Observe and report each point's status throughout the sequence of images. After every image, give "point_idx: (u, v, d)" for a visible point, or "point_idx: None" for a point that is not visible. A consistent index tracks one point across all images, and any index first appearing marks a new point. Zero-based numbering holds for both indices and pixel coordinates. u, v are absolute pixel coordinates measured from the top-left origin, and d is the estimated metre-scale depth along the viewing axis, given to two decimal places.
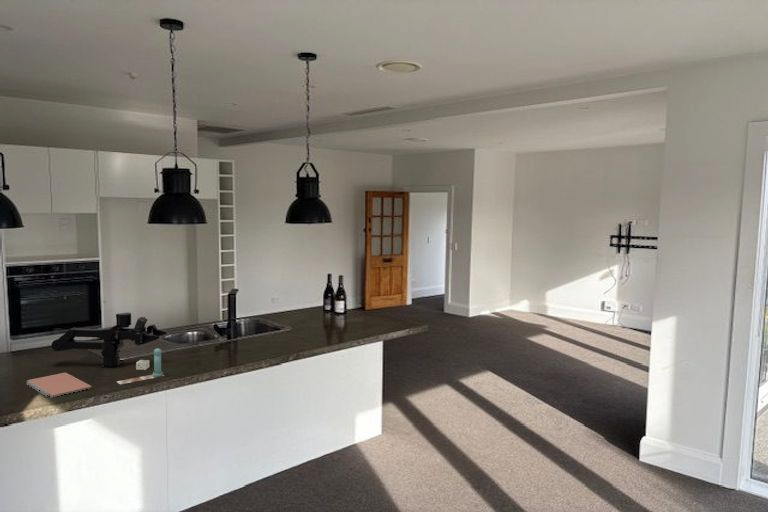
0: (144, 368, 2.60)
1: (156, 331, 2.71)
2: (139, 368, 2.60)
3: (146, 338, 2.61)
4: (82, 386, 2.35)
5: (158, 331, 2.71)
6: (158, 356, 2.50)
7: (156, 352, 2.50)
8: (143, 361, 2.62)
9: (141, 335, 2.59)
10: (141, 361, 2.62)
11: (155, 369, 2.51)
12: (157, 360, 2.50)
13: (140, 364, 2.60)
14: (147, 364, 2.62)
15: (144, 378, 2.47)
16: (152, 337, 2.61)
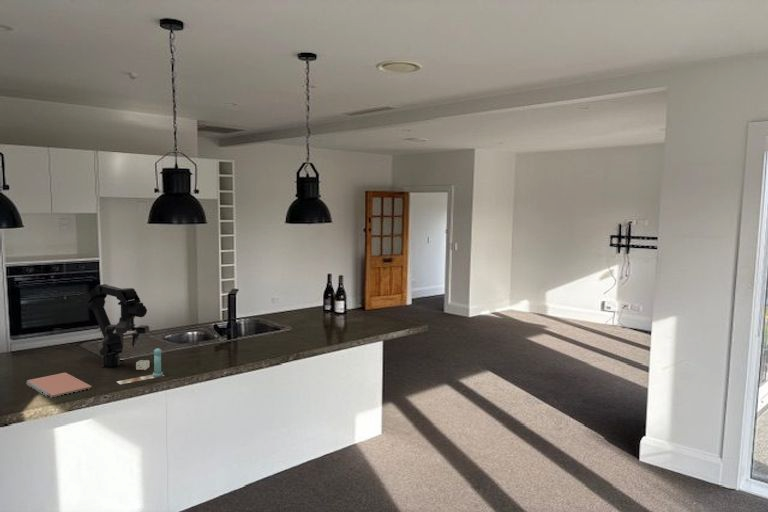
0: (144, 368, 2.60)
1: None
2: (139, 368, 2.60)
3: None
4: (82, 386, 2.35)
5: None
6: (158, 356, 2.50)
7: (156, 352, 2.50)
8: (143, 361, 2.62)
9: None
10: (141, 361, 2.62)
11: (155, 369, 2.51)
12: (157, 360, 2.50)
13: (140, 364, 2.60)
14: (147, 364, 2.62)
15: (144, 378, 2.47)
16: None
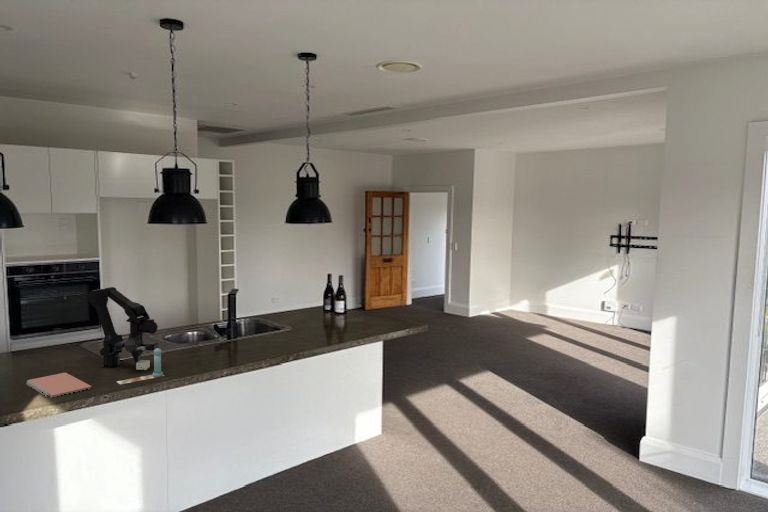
0: (144, 368, 2.60)
1: None
2: (139, 368, 2.60)
3: None
4: (82, 386, 2.35)
5: None
6: (158, 356, 2.50)
7: (156, 352, 2.50)
8: (143, 361, 2.62)
9: None
10: (141, 361, 2.62)
11: (155, 369, 2.51)
12: (157, 360, 2.50)
13: (140, 364, 2.60)
14: (147, 364, 2.62)
15: (144, 378, 2.47)
16: None
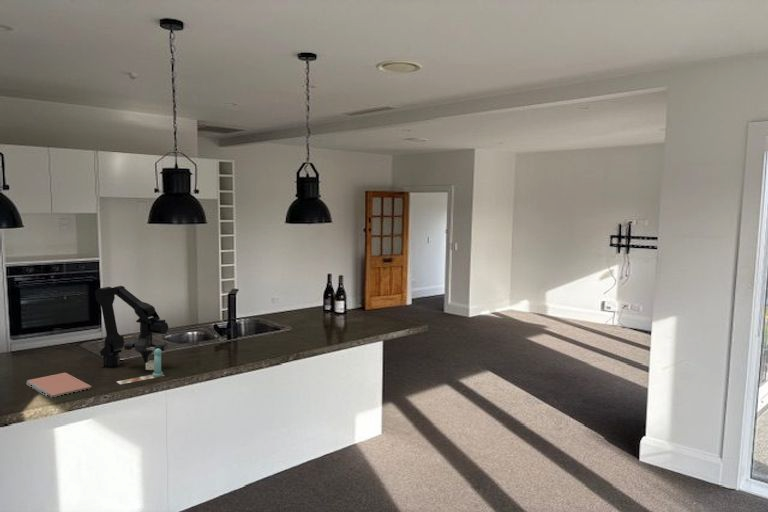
0: (153, 368, 2.60)
1: None
2: (148, 368, 2.60)
3: None
4: (82, 386, 2.35)
5: None
6: (158, 356, 2.50)
7: (156, 352, 2.50)
8: (152, 361, 2.62)
9: None
10: (150, 361, 2.62)
11: (155, 369, 2.51)
12: (157, 360, 2.50)
13: (150, 364, 2.60)
14: None
15: (144, 378, 2.47)
16: None
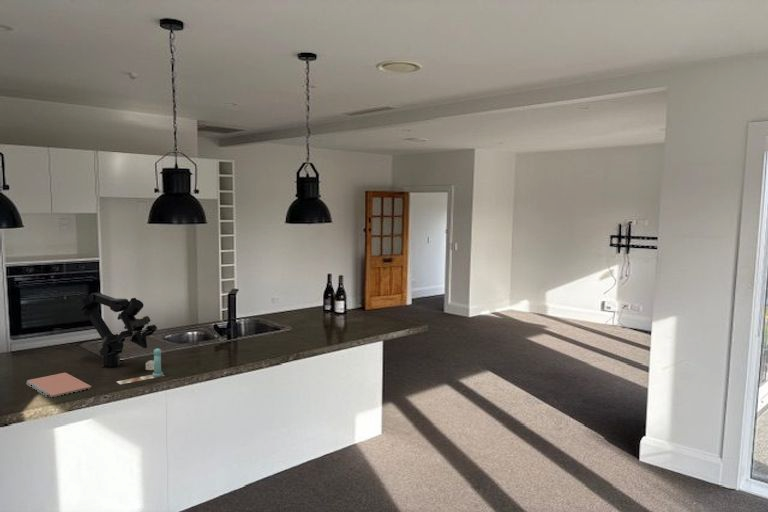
0: None
1: (142, 338, 2.57)
2: (149, 368, 2.60)
3: (137, 339, 2.55)
4: (82, 386, 2.35)
5: (143, 340, 2.56)
6: (158, 356, 2.50)
7: (156, 352, 2.50)
8: (153, 361, 2.62)
9: (133, 335, 2.53)
10: (151, 361, 2.62)
11: (155, 369, 2.51)
12: (157, 360, 2.50)
13: (150, 364, 2.60)
14: None
15: (144, 378, 2.47)
16: (140, 343, 2.55)
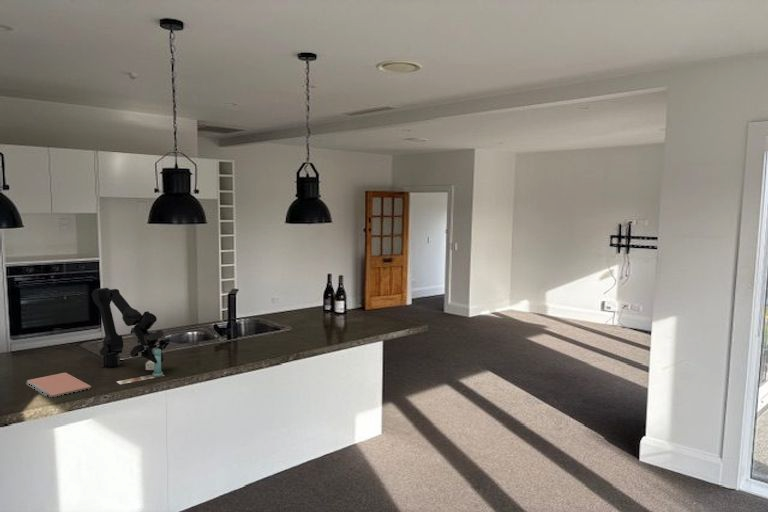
0: None
1: None
2: (149, 368, 2.60)
3: (148, 354, 2.50)
4: (82, 386, 2.35)
5: None
6: (158, 356, 2.50)
7: (156, 352, 2.50)
8: None
9: (144, 350, 2.48)
10: (151, 361, 2.62)
11: (155, 369, 2.51)
12: (157, 360, 2.50)
13: (150, 364, 2.60)
14: None
15: (144, 378, 2.47)
16: (152, 358, 2.49)
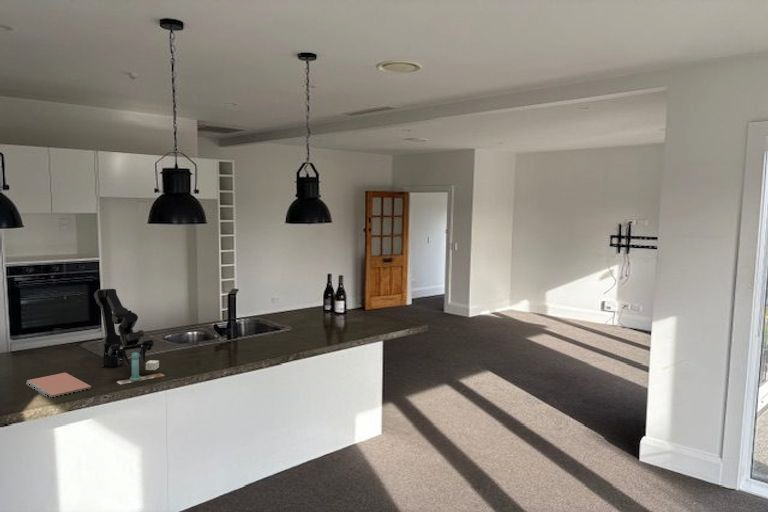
0: (154, 368, 2.60)
1: (141, 352, 2.48)
2: (149, 368, 2.60)
3: (122, 355, 2.43)
4: (82, 386, 2.35)
5: (142, 353, 2.47)
6: (135, 360, 2.43)
7: (132, 356, 2.43)
8: (153, 361, 2.62)
9: (117, 350, 2.41)
10: (151, 361, 2.62)
11: (132, 373, 2.44)
12: (134, 364, 2.43)
13: (150, 364, 2.60)
14: (157, 364, 2.62)
15: (144, 378, 2.47)
16: (124, 359, 2.42)
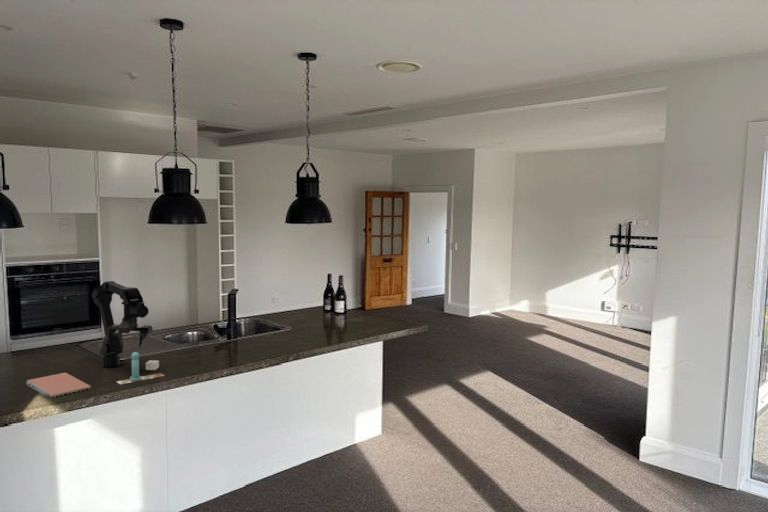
0: (154, 368, 2.60)
1: None
2: (149, 368, 2.60)
3: None
4: (82, 386, 2.35)
5: None
6: (135, 360, 2.43)
7: (133, 356, 2.42)
8: (153, 361, 2.62)
9: None
10: (151, 361, 2.62)
11: (132, 373, 2.44)
12: (134, 364, 2.43)
13: (150, 364, 2.60)
14: (157, 364, 2.62)
15: (144, 378, 2.47)
16: None
